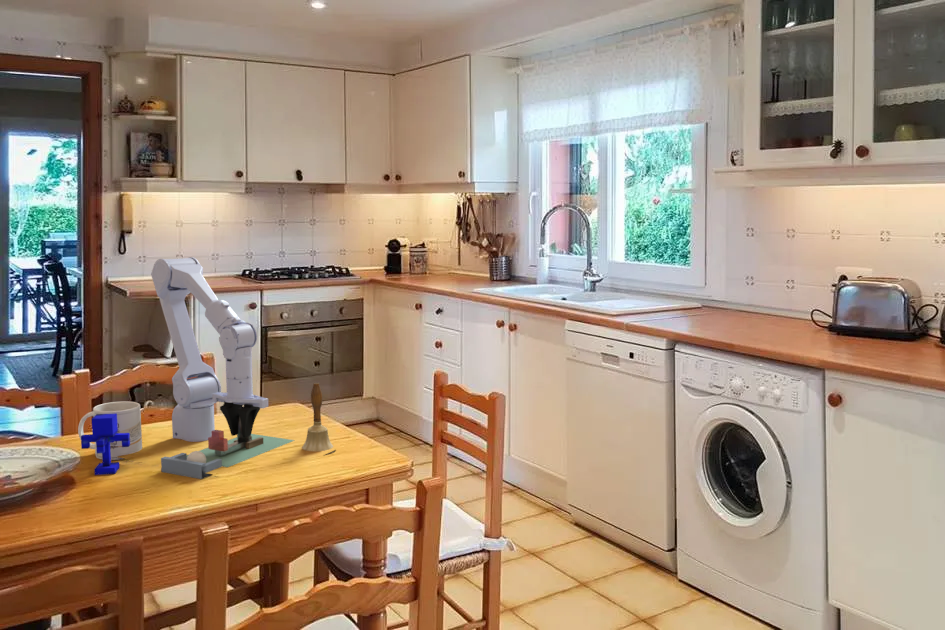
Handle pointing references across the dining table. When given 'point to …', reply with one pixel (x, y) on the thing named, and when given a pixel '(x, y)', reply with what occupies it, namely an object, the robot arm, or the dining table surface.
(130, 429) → the mug
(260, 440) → the rail guides
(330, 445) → the hand bell
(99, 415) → the figurine
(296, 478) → the dining table surface
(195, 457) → the ball
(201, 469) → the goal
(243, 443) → the kicker rod
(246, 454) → the mat
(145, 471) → the dining table surface
